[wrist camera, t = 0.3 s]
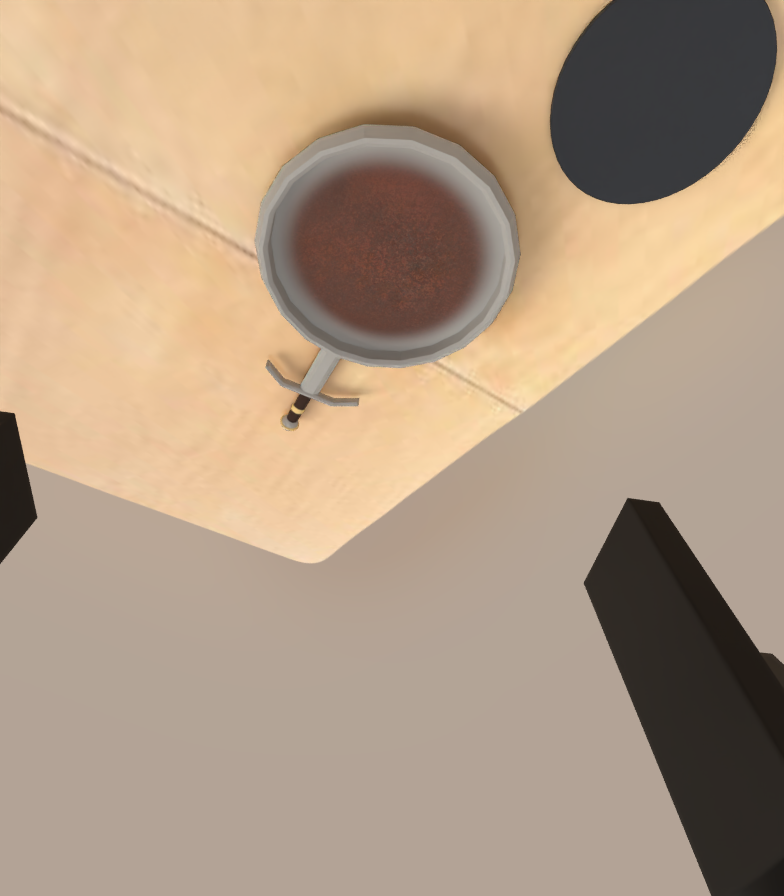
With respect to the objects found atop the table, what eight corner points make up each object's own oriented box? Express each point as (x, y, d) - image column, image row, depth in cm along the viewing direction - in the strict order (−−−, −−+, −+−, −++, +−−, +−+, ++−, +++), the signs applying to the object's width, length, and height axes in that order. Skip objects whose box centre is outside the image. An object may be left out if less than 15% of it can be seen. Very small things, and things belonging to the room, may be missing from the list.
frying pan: (187, 404, 46) (311, 61, 27) (197, 380, 48) (320, 43, 28) (369, 471, 52) (582, 229, 32) (372, 447, 54) (575, 204, 34)
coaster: (756, -100, 24) (759, -99, 23) (786, 133, 30) (789, 136, 30) (517, 64, 29) (518, 67, 28) (588, 233, 35) (589, 236, 35)
